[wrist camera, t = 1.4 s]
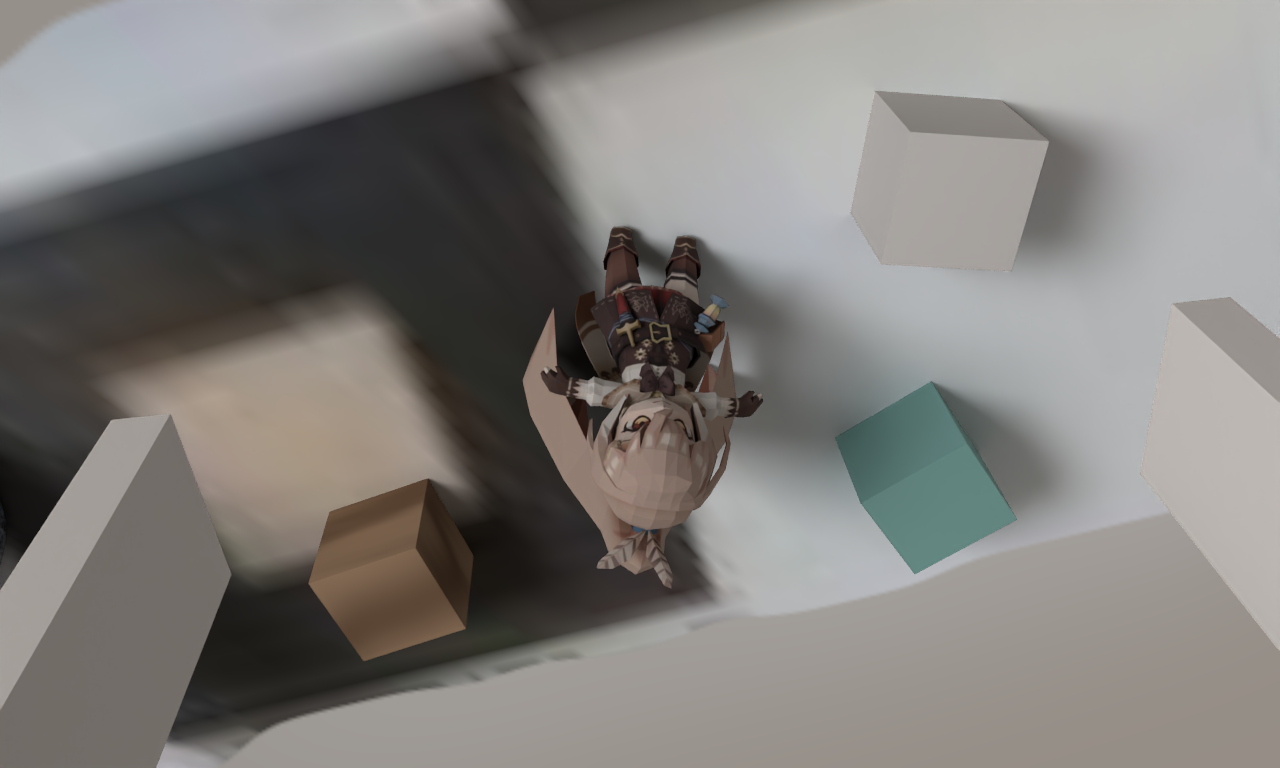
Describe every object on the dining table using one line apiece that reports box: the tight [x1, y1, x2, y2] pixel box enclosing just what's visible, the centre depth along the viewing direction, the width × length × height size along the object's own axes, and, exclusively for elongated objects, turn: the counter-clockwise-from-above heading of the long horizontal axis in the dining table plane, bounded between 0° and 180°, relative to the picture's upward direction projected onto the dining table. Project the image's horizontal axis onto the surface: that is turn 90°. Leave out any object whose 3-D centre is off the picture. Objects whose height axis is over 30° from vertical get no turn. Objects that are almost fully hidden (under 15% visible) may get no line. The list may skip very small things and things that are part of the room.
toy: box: [523, 226, 763, 588], centre depth 40 cm, size 9×8×15 cm
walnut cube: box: [308, 479, 474, 661], centre depth 49 cm, size 5×5×5 cm
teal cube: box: [835, 382, 1017, 574], centre depth 48 cm, size 5×5×5 cm
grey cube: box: [850, 91, 1049, 271], centre depth 41 cm, size 5×5×5 cm
